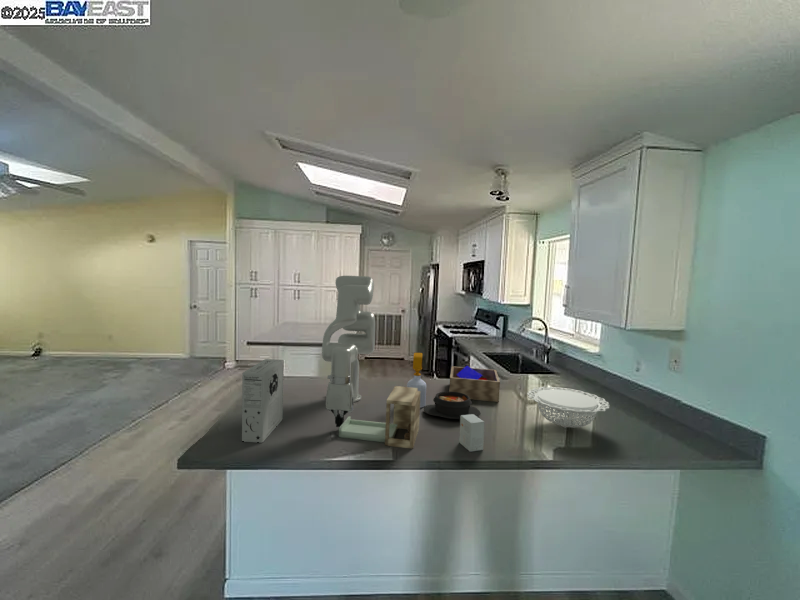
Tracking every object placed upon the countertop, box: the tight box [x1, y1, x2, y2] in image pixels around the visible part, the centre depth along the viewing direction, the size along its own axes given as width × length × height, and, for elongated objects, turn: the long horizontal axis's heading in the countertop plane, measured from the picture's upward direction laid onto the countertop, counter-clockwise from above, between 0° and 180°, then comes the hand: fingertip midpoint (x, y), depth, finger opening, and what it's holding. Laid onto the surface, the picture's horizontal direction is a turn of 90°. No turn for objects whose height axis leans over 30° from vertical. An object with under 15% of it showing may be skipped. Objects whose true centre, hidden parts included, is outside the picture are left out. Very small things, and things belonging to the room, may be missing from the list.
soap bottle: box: [406, 352, 427, 409], centre depth 183 cm, size 9×9×25 cm
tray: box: [338, 415, 398, 443], centre depth 150 cm, size 20×12×4 cm, turn 80°
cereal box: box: [241, 358, 284, 444], centre depth 148 cm, size 22×8×25 cm, turn 178°
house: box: [457, 365, 487, 380], centre depth 207 cm, size 12×20×12 cm, turn 13°
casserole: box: [423, 391, 481, 420], centre depth 173 cm, size 25×19×8 cm
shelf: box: [384, 385, 421, 449], centre depth 148 cm, size 10×17×17 cm, turn 171°
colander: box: [526, 386, 611, 428], centre depth 163 cm, size 32×32×13 cm
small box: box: [458, 414, 485, 452], centre depth 142 cm, size 8×6×10 cm
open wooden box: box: [449, 365, 501, 403], centre depth 207 cm, size 24×24×10 cm
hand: (339, 425), depth 152 cm, fingers closed
